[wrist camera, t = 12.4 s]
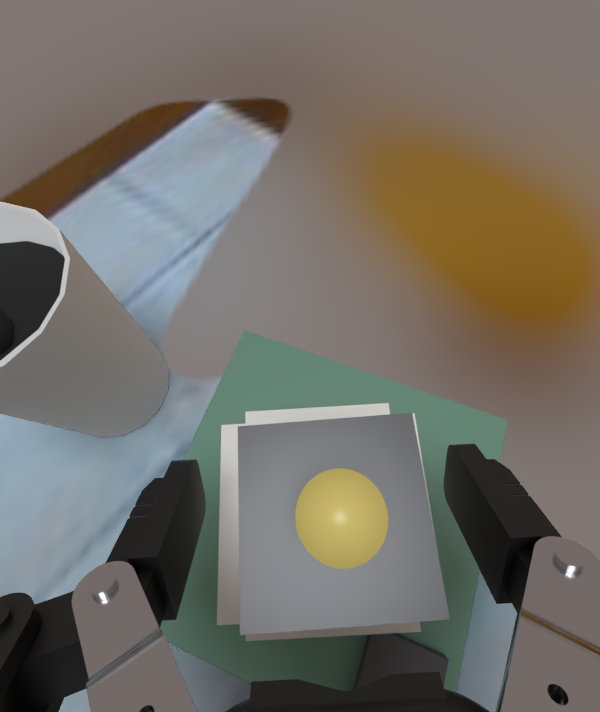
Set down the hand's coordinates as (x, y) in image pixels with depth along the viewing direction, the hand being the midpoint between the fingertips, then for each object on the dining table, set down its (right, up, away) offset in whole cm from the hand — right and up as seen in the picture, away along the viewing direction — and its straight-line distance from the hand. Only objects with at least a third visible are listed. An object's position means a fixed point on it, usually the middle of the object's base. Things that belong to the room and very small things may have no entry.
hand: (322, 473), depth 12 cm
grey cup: (-11, +2, +9) cm, 14 cm away
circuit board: (0, -4, +6) cm, 7 cm away
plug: (0, -3, +5) cm, 6 cm away
